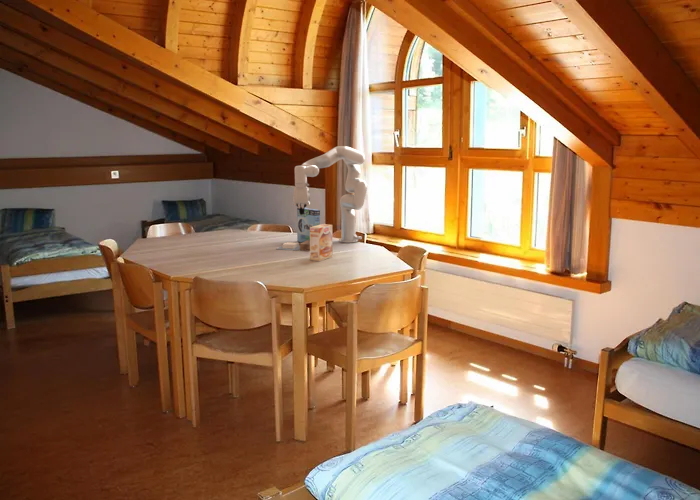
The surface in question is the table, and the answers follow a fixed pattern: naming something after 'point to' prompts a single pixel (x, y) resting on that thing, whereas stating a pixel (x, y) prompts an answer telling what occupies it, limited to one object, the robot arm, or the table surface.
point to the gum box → (306, 223)
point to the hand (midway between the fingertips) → (302, 214)
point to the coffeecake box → (320, 242)
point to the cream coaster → (290, 245)
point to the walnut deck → (305, 245)
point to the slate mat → (288, 248)
